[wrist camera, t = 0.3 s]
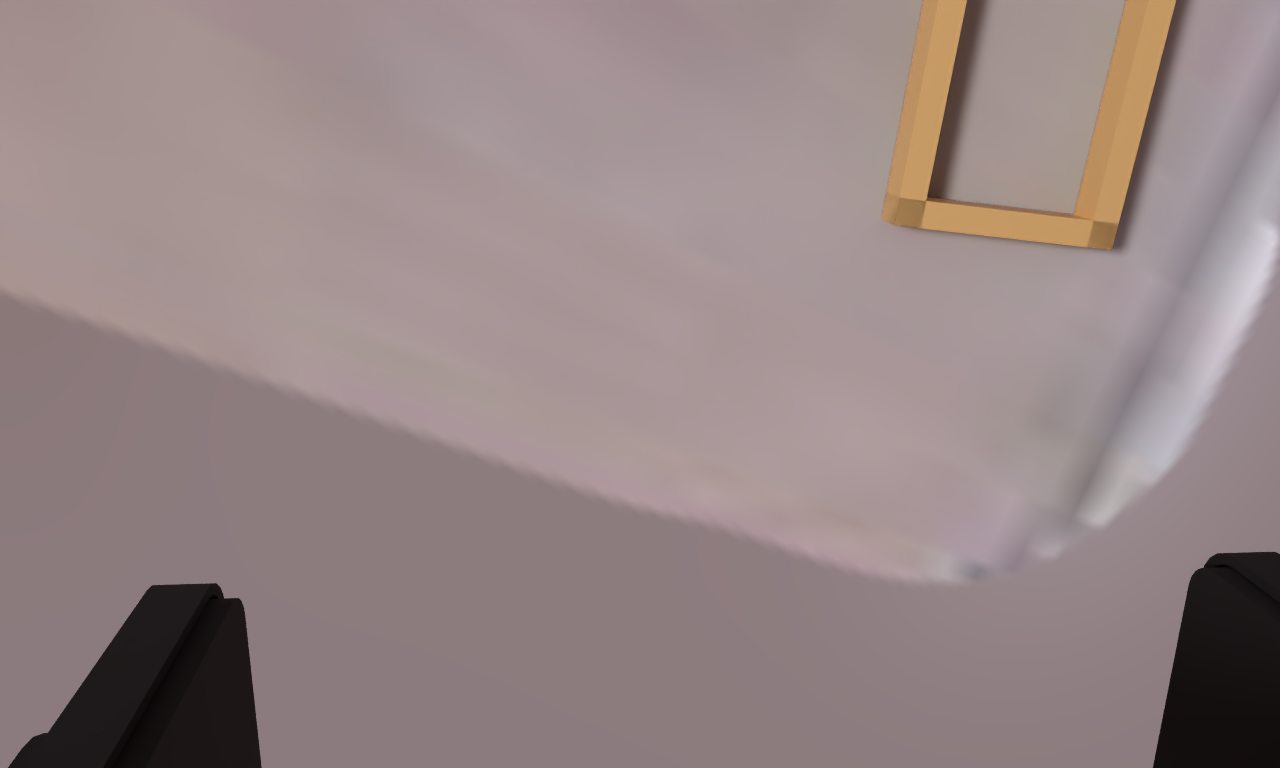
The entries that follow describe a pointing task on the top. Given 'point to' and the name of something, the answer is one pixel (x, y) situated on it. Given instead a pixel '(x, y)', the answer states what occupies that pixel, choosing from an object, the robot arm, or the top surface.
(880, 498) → the top surface
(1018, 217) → the tan grey double frame
